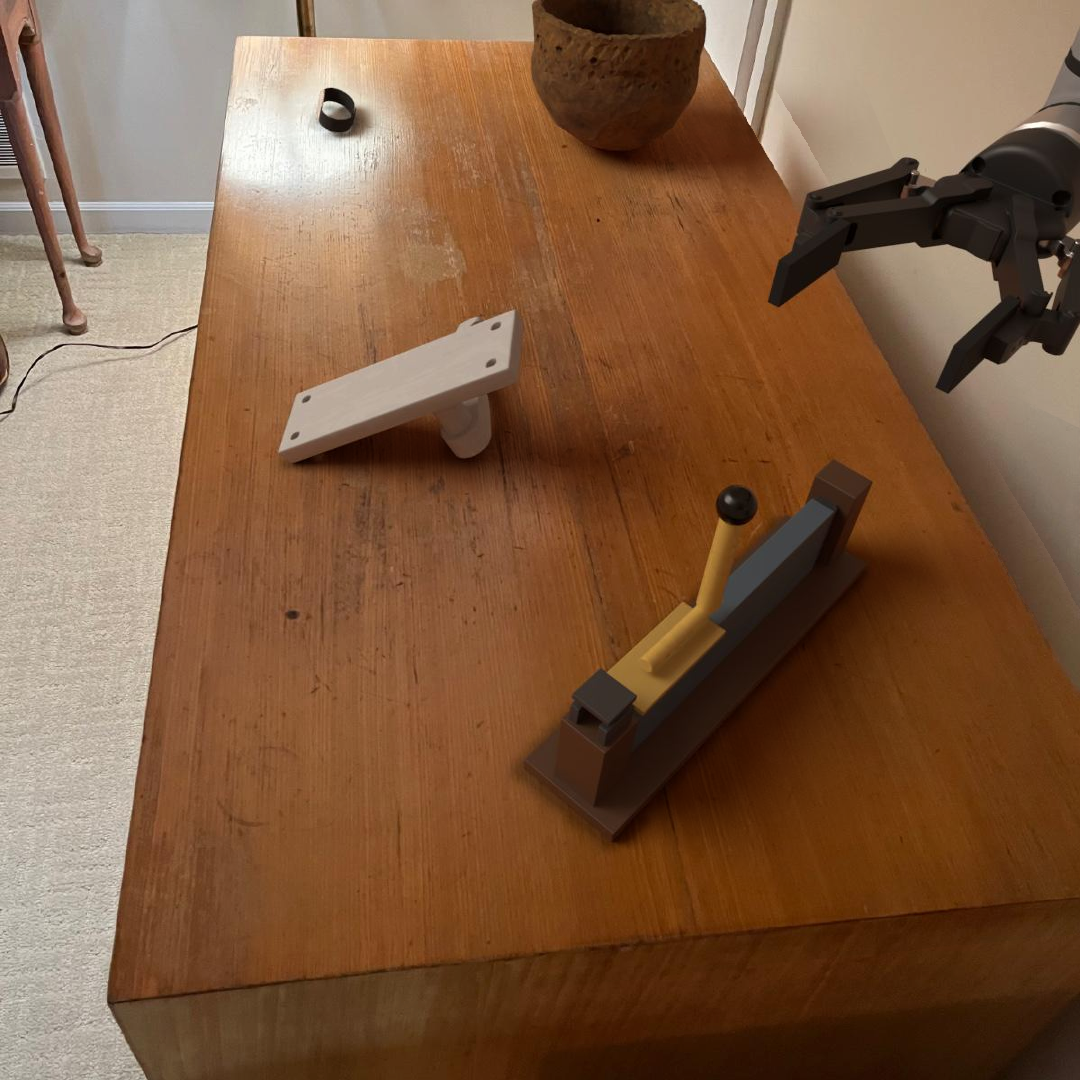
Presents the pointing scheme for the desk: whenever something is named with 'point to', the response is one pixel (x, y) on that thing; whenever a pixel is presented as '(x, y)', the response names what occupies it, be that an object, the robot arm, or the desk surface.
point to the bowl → (617, 66)
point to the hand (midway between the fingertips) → (861, 325)
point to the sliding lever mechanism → (702, 663)
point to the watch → (339, 98)
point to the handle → (413, 391)
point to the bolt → (710, 571)
